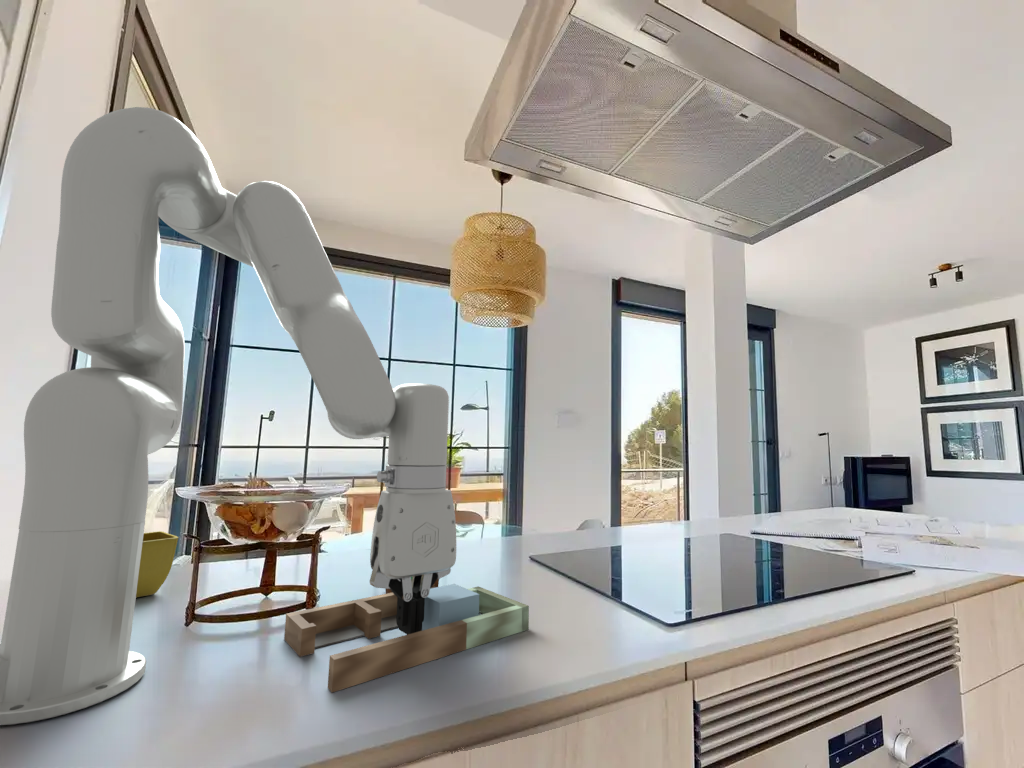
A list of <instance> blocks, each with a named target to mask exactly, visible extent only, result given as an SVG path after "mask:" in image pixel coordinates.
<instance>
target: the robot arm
mask: <svg viewBox="0 0 1024 768" xmlns="http://www.w3.org/2000/svg"><path fill="white" fill-rule="evenodd" d="M59 208H60V210H59V226H58V235H57V236H58V237H57V241H56V242H57V243H56V251H55V264H54V274H53V275H54V276H53V287H52V288H53V290H52V296H51V297H52V299H51V308H50V309H51V310H50V315H51V323H52V328H53V329H54V331H55V332H56V334H57V336H58V337H59V338H60V339H61V341H63V342H64V343H66V344H67V345H69V346H70V347H72V348H74V349H75V350H78V351H80V352H82V353H84V354H86V355H88V356H90V367H80V368H75V369H71V370H68V371H64V372H62V373H60V374H58V375H56V376H54V377H53V378H51V379H48V381H46V382H45V383H44V384H42V385H41V386H40V387H39V388H38V389H37V391H36V392H35V393H34V395H33V396H32V398H31V400H30V401H29V403H28V406H27V408H26V411H25V417H24V422H23V443H24V445H23V446H24V462H25V463H24V464H25V465H24V467H25V468H24V469H25V470H24V471H25V472H24V473H25V474H24V475H25V476H24V489H23V497H22V504H21V511H20V517H19V518H20V519H19V524H18V534H17V540H16V545H15V546H16V547H15V552H14V553H15V554H14V559H13V565H12V566H13V567H12V572H11V577H10V583H9V584H10V585H9V591H8V595H7V596H8V597H7V602H6V610H5V615H4V621H3V626H2V633H1V640H0V726H6V725H7V726H9V725H11V726H12V725H19V724H25V723H33V722H37V721H43V720H48V719H51V718H55V717H59V716H62V715H63V716H64V715H67V714H71V713H73V712H77V711H79V710H82V709H86V708H88V707H89V708H90V707H91V706H94V705H96V704H100V703H102V702H103V701H106V700H109V699H110V698H113V697H115V696H117V695H119V694H122V692H124V691H126V690H128V689H130V688H131V687H132V686H133V685H135V684H137V682H138V681H140V679H142V678H143V676H144V674H145V672H146V665H147V658H146V657H145V656H144V655H143V654H141V653H140V652H136V651H132V650H130V648H131V647H130V646H131V639H132V631H133V629H132V628H133V624H134V623H133V622H134V616H135V615H134V614H135V607H136V600H137V599H136V591H137V583H138V575H139V567H140V559H141V551H142V543H143V535H144V533H145V525H146V516H147V515H146V514H147V507H148V497H149V496H148V495H149V458H148V456H149V455H151V454H153V453H155V452H157V451H159V450H161V449H162V448H164V447H165V446H166V445H167V444H169V443H171V441H172V439H173V438H174V437H175V436H176V434H177V432H178V430H179V428H180V425H181V420H182V413H183V399H184V397H183V396H184V371H185V370H184V368H185V367H184V366H185V337H184V336H185V335H184V330H183V326H182V323H181V321H180V319H179V317H178V315H177V314H176V312H175V311H174V310H173V309H172V308H171V307H170V306H169V305H168V304H167V303H166V302H165V301H164V300H163V298H162V296H161V295H160V294H161V293H160V285H159V283H160V281H159V277H160V276H159V275H160V274H159V273H160V272H159V270H160V269H159V268H160V265H159V264H160V255H161V238H160V237H161V235H160V226H159V218H160V219H161V220H162V221H163V222H164V223H165V224H166V225H167V226H168V227H170V228H171V229H173V230H174V231H176V232H177V233H179V234H181V235H183V236H185V237H186V238H188V239H191V240H193V241H194V242H197V243H199V244H201V245H204V246H206V247H208V248H210V249H212V250H214V251H216V252H219V253H221V254H223V255H226V256H227V257H229V258H231V259H234V260H236V261H238V262H240V263H242V264H245V265H247V266H249V267H251V268H254V271H255V272H256V275H257V277H258V280H259V282H260V283H261V285H262V287H263V290H264V293H265V294H266V296H267V299H268V301H269V303H270V305H271V308H272V309H273V312H274V314H275V316H276V318H277V320H278V322H279V324H280V325H281V327H282V328H283V329H284V330H285V332H286V333H288V335H289V336H290V337H291V339H292V341H293V342H294V344H295V346H296V348H297V350H298V351H299V353H300V356H301V357H302V359H303V362H304V364H305V365H306V368H307V370H308V372H309V374H310V376H311V379H312V380H313V383H314V385H315V387H316V389H317V392H318V395H319V396H320V398H321V401H322V402H323V404H324V405H323V406H324V407H325V410H326V411H327V418H328V422H329V424H330V426H331V428H332V429H333V430H334V431H335V432H336V433H338V434H339V435H340V436H343V437H344V438H347V439H350V440H363V439H364V440H365V439H373V438H383V437H388V446H387V447H388V450H387V465H385V470H381V471H380V470H379V471H378V472H377V473H376V480H377V481H376V482H378V483H383V484H384V487H386V488H385V490H381V492H380V495H379V498H378V499H379V500H378V503H377V507H376V511H375V515H374V521H373V522H374V523H373V526H372V527H373V528H372V536H371V544H370V558H369V560H370V562H369V563H370V568H371V570H372V571H371V574H370V579H369V585H371V586H372V587H373V588H376V589H384V590H385V589H390V590H391V591H392V592H393V593H394V595H395V596H397V616H396V623H397V626H398V630H399V631H401V633H402V632H403V633H404V634H405V635H408V634H412V633H415V632H419V631H422V622H423V621H424V607H425V598H426V597H427V596H428V595H429V592H430V589H431V587H432V586H433V584H434V583H435V582H436V580H437V579H439V580H440V579H442V578H444V577H446V576H448V575H450V573H451V571H452V569H451V568H453V566H455V564H456V561H457V524H456V523H457V522H456V513H455V512H456V511H455V505H454V499H453V494H452V493H453V492H452V490H451V489H446V488H447V487H446V486H447V462H448V460H447V459H448V457H447V456H448V433H449V431H448V428H449V427H448V426H449V408H450V407H449V403H450V402H449V401H450V399H449V398H450V397H449V393H448V391H447V390H446V389H445V387H442V386H440V385H436V384H430V383H402V384H400V385H397V386H395V387H393V386H392V384H391V381H390V379H389V377H388V374H387V372H386V369H385V368H384V366H383V363H382V361H381V359H380V357H379V355H378V353H377V350H376V349H375V345H374V344H373V342H372V340H371V338H370V336H369V334H368V332H367V331H366V328H365V327H364V324H362V322H361V319H360V318H359V316H358V315H357V313H356V311H355V309H354V308H353V305H352V303H351V301H350V300H349V299H348V297H347V295H346V293H345V291H344V288H343V287H342V284H341V283H340V281H339V279H338V276H337V274H336V272H335V270H334V268H333V266H332V263H331V261H330V259H329V257H328V255H327V253H326V251H325V249H324V245H323V244H322V242H321V239H320V237H319V235H318V232H317V231H316V228H315V227H314V224H313V222H312V219H311V217H310V215H309V213H308V212H307V210H306V207H305V206H304V204H303V203H302V201H301V199H300V198H299V197H298V196H297V194H295V193H294V192H293V191H292V190H291V189H290V188H288V187H286V186H285V185H283V184H281V183H278V182H276V181H270V180H261V181H254V182H251V183H249V184H248V185H246V186H244V187H243V188H242V189H240V191H239V192H238V193H237V194H235V193H234V192H230V191H229V190H227V189H225V188H223V187H222V185H221V182H220V180H219V178H218V175H217V173H216V170H215V167H214V166H213V163H212V160H211V159H210V156H209V154H208V152H207V150H206V149H205V147H204V145H203V144H202V143H201V141H200V140H199V139H198V137H197V136H196V135H195V134H194V132H193V131H192V129H190V128H188V126H186V125H185V124H184V123H183V122H182V121H181V120H179V119H178V118H176V117H174V116H173V115H171V114H169V113H168V112H166V111H163V110H160V109H155V108H153V107H148V106H147V107H146V106H145V107H143V106H140V107H139V106H136V107H135V106H134V107H126V108H121V109H117V110H114V111H110V112H107V113H105V114H104V115H101V116H100V117H98V118H96V119H95V120H93V121H92V122H90V123H89V124H88V125H86V126H85V127H84V128H83V129H82V130H81V131H80V132H79V133H78V134H77V136H76V137H75V139H74V140H73V141H72V144H71V145H70V147H69V150H68V152H67V154H66V157H65V159H64V163H63V169H62V175H61V184H60V207H59ZM411 577H412V582H411Z"/></svg>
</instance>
